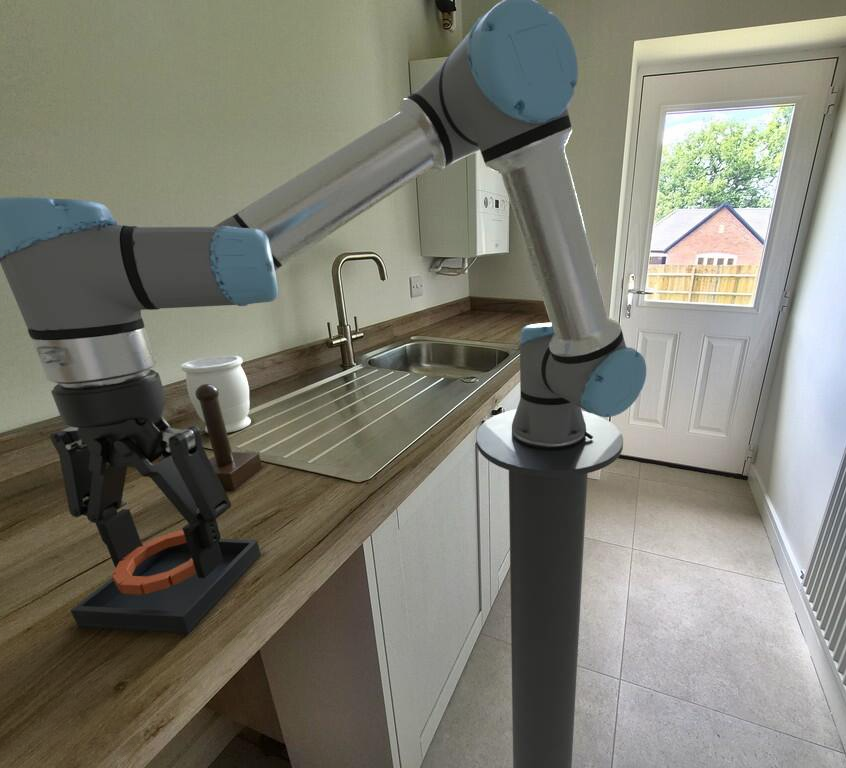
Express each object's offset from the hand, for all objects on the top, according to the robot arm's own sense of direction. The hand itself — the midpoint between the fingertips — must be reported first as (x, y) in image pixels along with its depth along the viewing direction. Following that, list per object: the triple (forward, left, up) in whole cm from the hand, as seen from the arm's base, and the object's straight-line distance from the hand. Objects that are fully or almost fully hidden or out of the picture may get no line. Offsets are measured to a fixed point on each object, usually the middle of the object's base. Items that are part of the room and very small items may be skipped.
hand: (171, 566), depth 46 cm
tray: (0, 0, -3) cm, 3 cm away
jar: (+27, -43, -3) cm, 51 cm away
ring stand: (+11, -23, -3) cm, 26 cm away
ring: (0, 0, +1) cm, 1 cm away
